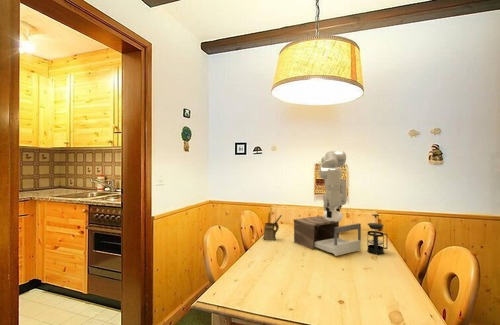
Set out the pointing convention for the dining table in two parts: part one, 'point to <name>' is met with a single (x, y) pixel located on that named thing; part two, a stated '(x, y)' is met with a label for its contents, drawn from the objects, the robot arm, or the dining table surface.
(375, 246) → the french press
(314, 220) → the walnut cabinet
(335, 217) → the white tied sack
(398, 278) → the dining table surface
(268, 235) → the wooden mug
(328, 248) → the pull-out tray
